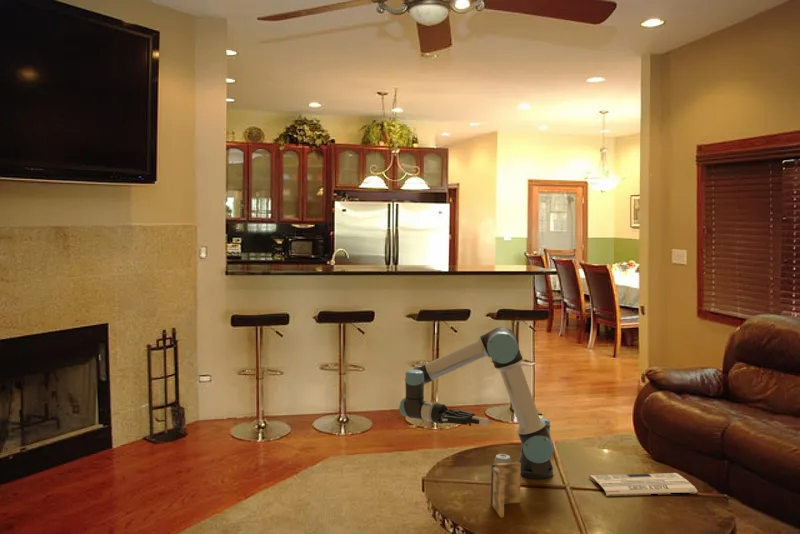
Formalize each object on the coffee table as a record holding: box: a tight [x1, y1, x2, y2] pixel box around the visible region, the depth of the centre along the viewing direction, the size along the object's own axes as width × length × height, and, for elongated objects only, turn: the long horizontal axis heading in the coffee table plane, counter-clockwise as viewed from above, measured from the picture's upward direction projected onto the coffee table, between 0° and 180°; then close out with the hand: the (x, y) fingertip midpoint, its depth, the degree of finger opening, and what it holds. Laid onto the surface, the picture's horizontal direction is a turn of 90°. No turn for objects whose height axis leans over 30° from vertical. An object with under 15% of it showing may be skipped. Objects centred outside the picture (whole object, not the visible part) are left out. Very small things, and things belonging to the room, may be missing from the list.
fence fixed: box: [492, 467, 505, 518], centre depth 235 cm, size 9×2×15 cm, turn 10°
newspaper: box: [588, 472, 699, 497], centre depth 260 cm, size 37×19×3 cm, turn 95°
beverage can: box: [494, 453, 512, 467], centre depth 260 cm, size 6×6×12 cm
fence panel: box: [490, 461, 522, 506], centre depth 242 cm, size 11×2×15 cm, turn 101°
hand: (487, 422), depth 248 cm, fingers closed
